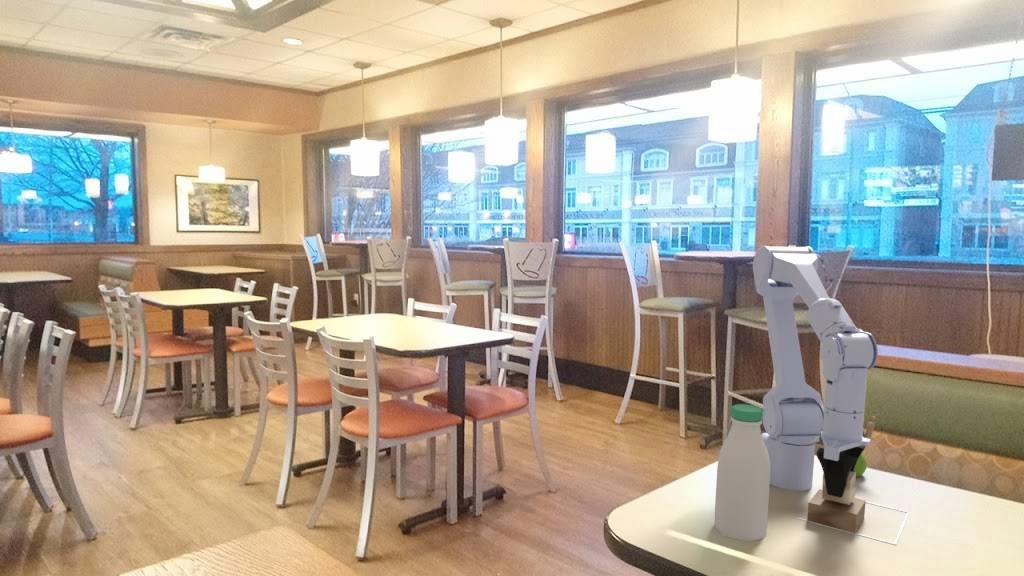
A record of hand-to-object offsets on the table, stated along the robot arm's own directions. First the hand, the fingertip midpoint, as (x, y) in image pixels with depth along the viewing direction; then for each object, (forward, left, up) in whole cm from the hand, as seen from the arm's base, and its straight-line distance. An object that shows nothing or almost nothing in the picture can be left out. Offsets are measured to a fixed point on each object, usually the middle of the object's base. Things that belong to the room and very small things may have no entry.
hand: (837, 491), depth 110 cm
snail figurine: (-2, +23, -6) cm, 24 cm away
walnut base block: (0, 0, -5) cm, 5 cm away
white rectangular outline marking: (+2, +3, -5) cm, 7 cm away
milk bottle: (-11, -13, -6) cm, 18 cm away
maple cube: (0, 0, -1) cm, 1 cm away
